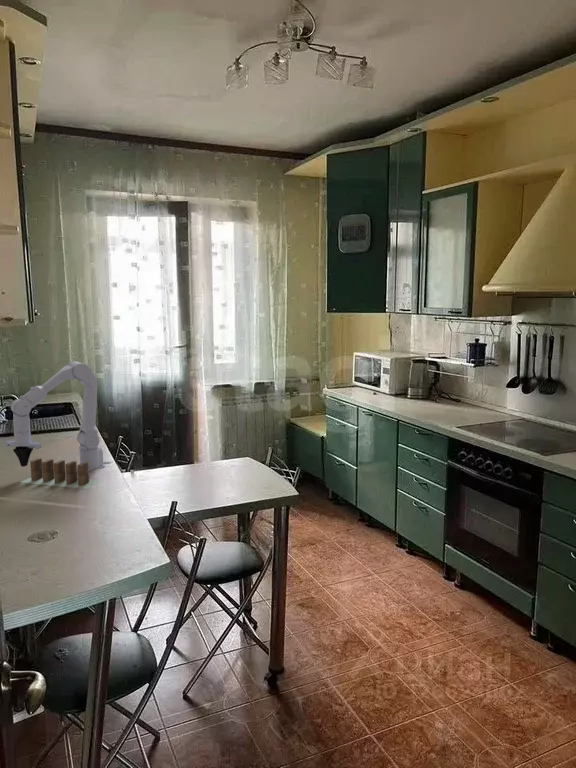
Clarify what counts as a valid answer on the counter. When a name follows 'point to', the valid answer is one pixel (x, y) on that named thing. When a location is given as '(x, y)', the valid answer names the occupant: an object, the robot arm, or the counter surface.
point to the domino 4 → (71, 472)
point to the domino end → (83, 473)
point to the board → (61, 483)
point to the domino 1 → (36, 469)
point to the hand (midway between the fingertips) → (24, 465)
